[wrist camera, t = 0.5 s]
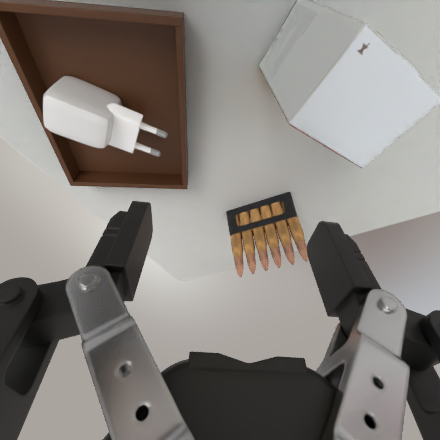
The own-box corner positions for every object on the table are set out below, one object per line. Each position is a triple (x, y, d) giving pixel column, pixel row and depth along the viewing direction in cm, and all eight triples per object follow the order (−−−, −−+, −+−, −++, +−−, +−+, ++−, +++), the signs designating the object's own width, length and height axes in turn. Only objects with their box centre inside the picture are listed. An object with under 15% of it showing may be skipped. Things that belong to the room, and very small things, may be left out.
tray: (2, -4, 21) (-19, -1, 19) (183, 12, 22) (181, 17, 20) (78, 173, 34) (70, 185, 32) (188, 176, 35) (187, 189, 33)
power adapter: (173, 112, 28) (168, 138, 24) (161, 147, 31) (155, 175, 27) (65, 64, 24) (37, 85, 20) (63, 109, 27) (39, 135, 23)
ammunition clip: (290, 191, 38) (313, 255, 30) (292, 199, 39) (314, 262, 31) (226, 211, 41) (231, 275, 32) (230, 218, 42) (236, 281, 34)
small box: (257, 66, 25) (285, 124, 16) (299, -7, 21) (368, 18, 12) (313, 104, 28) (363, 171, 19) (359, 47, 24) (448, 98, 16)
